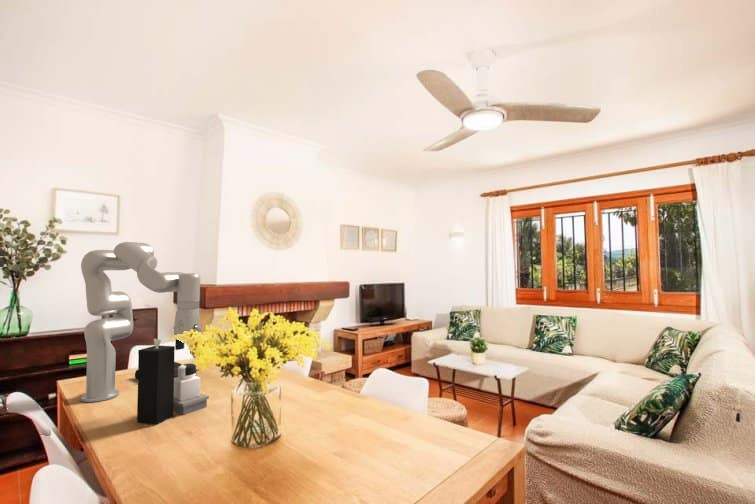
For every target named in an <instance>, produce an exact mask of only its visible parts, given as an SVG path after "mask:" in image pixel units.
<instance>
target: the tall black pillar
mask: <svg viewBox="0 0 755 504" xmlns="http://www.w3.org/2000/svg"><path fill="white" fill-rule="evenodd" d="M161 342H162V339H159V338H153V343H154V345H153V346H148V347H144V348H141V349H138V353H137V354H138V362H137V363H138V365H137V370H138V379H137V402H136V405H137V407H136V408H137V410H136V411H137V412H136V423H137V424H147V425H155V426H156V425H159V424H160V423H162V422H164V421H167V420H168V419H170V418H172V417H173V416H174V411H173V403H174V362H175V345H160V344H161Z"/></svg>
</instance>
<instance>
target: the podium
mask: <svg viewBox="0 0 755 504" xmlns="http://www.w3.org/2000/svg"><path fill="white" fill-rule="evenodd" d="M209 398H210V396H209V395H206V394H203V393H200V396H199V397H196V398H192V399H188V400H184V401H179V400H178V399H176V398H174V403H173V413H174V412H175V413H178V414H180V415H184V416H185V415H187V414H190V413H193V412H196V411H198V410H199V411H200V410H202V409H204V408H207V406H208V405H207V402H208V401H207V400H209Z"/></svg>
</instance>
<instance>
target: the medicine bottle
mask: <svg viewBox="0 0 755 504" xmlns="http://www.w3.org/2000/svg"><path fill="white" fill-rule="evenodd" d="M196 369H197V365H196V364H194V363H184V364H182V365H181V366H179V367H178V377H177V378H174V398H176V399H178V400H179V401H184V400H188V399H192V398H196V397H199V396H200V394H201V377H200V376H198V375H197V371H196ZM195 375H196V376H195Z"/></svg>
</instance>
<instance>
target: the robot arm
mask: <svg viewBox="0 0 755 504" xmlns="http://www.w3.org/2000/svg"><path fill="white" fill-rule="evenodd" d="M157 259H158V258H157V257H156V256H155V250H154V248H153V247H152V246H151V245H150V244H149V243H147V242H137V241H136V242H135V241H124V242H120V243H118V244H117V245H116V246H114V248H113V250H112V249H96V250H90V251H88V252H87V253H86V254H84V256H83V258H82V260H81V262H80V269H81V273H82V277H83V279H84V284H85V298H86V307H87V311H88V313H89V314H90V315H91V316H94V317H97V316H98V317H99V316H109V315H112V317H105V318H100V319H99V318H98V319H95V320H91V321H90V322H89V323H87V324H86V325H85V328H84V334H83V335H84V339H85V343H86V375H85V376H86V380H85V381H86V383H85V394H83V395H81V397H80V401H82V402H84V403H95V402H103V401H107V400H110V399H113V398H115V397H117V396H118V395H120V390H119V389H116V363H117V362H116V360H117V359H116V357H117V356H116V354H117V353H116V348H115V347H114V345H113V343H111V341H117V340H121V339H125V338H127V337H129V336H131V334H132V333H133V330H134V317H133V316H134V315H133V305H132V304H133V303H132V299H131V297H130V296H129V294H128V293H126V292H124V291H113V290H112V281H111V279H110V277H109V276H108V275H107V274H106V273H105V271H127V270H131V269H132V270H133V271H134V272H136V275H137V279H138V281H139V283H140V284H141V285H142V286H144V287H146V288H147V289H149V290H150V291H152V292H155V293H157V294H158V293H159V294H160V293H161V294H162V293H175V292H177V305H176V306H177V307H176V312H175V318H174V326H173V334H174V336H175V335H177V334H183V332H184V331H190V330H191V329H196V330H197V331H198V332H201V333H202V334H203V330H202V329H201V318H200V317H201V316H200V301H201V300H200V297H201V296H200V294H201V276H200V274H198V273H193V272H191V273H184V272H181V271H180V272H177V271H176V272H173V271H170V272H160V271H158V270H157V269H156V267H157V266H158V260H157ZM174 344H175V345H174V346H175V350H176V351H179V350H184V349H185V342H184V343H182V342H181V341H179V340H177V339H175V343H174ZM189 354H190V355H191V354H192V353H191V351H190V350H189Z"/></svg>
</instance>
